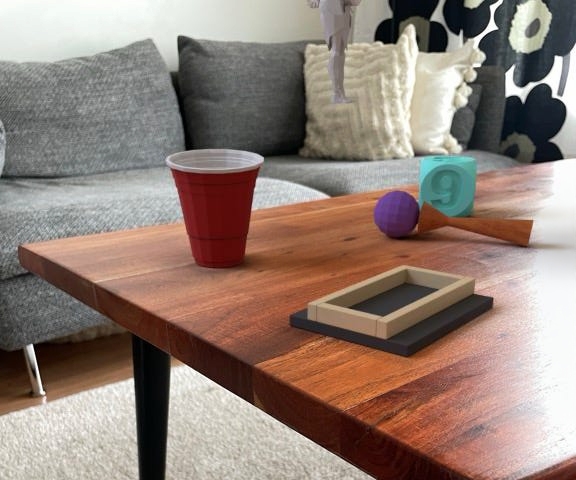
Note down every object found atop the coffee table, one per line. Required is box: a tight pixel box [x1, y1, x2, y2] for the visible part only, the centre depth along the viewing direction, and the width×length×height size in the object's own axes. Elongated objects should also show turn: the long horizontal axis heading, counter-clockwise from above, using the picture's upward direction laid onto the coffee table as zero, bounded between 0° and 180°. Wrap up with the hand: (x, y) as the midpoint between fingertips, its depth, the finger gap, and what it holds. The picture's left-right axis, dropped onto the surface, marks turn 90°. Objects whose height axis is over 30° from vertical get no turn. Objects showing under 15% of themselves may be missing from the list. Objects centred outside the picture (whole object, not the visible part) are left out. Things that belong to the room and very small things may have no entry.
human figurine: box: [307, 0, 356, 104], centre depth 77 cm, size 12×4×18 cm, turn 158°
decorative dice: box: [417, 155, 478, 218], centre depth 108 cm, size 8×8×8 cm
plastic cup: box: [164, 148, 265, 268], centre depth 81 cm, size 11×11×12 cm
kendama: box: [373, 189, 534, 248], centre depth 92 cm, size 6×6×20 cm
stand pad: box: [289, 264, 495, 358], centre depth 66 cm, size 12×16×2 cm
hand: (331, 2), depth 76 cm, fingers closed on human figurine, 3 cm apart
